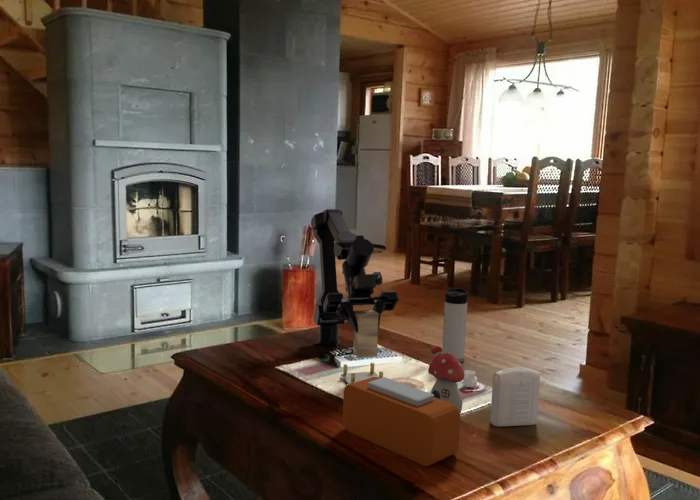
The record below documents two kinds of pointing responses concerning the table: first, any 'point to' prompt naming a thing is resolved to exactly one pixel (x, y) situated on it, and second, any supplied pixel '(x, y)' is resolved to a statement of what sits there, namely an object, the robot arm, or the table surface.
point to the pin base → (359, 375)
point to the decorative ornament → (446, 377)
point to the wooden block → (366, 334)
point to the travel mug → (455, 323)
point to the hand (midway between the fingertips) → (367, 330)
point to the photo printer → (515, 397)
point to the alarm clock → (402, 419)
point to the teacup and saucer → (471, 380)
